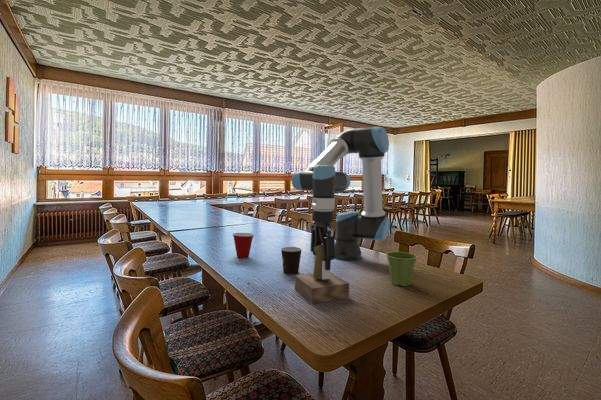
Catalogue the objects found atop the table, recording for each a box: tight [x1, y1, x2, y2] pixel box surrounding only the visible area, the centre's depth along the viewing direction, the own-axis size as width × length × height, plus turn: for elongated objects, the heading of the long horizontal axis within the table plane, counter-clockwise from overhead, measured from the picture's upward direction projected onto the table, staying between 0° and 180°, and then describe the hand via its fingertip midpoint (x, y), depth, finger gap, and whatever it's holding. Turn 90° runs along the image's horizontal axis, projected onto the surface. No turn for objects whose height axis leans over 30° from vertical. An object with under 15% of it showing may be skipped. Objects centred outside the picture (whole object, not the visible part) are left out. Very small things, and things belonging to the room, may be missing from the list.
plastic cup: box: [232, 232, 255, 259], centre depth 154 cm, size 11×11×12 cm
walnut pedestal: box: [294, 271, 350, 304], centre depth 108 cm, size 14×14×5 cm
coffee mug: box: [280, 246, 303, 275], centre depth 132 cm, size 12×9×10 cm
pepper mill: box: [313, 245, 324, 279], centre depth 107 cm, size 6×6×11 cm
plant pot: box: [385, 251, 419, 287], centre depth 120 cm, size 12×12×11 cm
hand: (321, 275), depth 108 cm, fingers closed on pepper mill, 6 cm apart
